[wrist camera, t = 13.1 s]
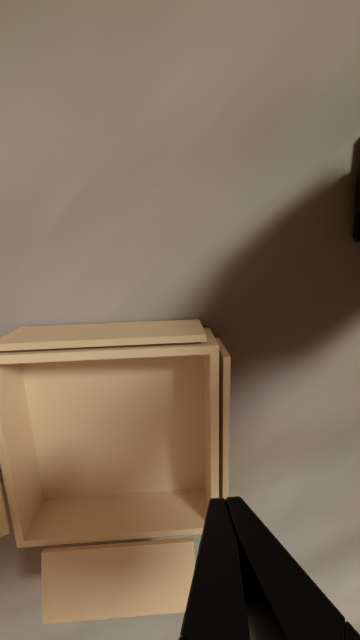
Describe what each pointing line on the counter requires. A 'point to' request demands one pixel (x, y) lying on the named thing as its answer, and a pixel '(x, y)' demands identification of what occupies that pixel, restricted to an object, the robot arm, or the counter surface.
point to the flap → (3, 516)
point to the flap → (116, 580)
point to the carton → (113, 430)
